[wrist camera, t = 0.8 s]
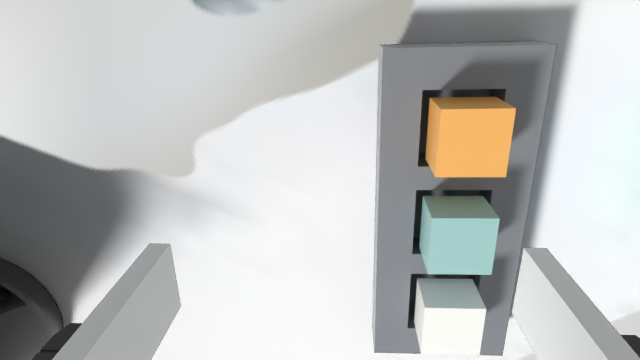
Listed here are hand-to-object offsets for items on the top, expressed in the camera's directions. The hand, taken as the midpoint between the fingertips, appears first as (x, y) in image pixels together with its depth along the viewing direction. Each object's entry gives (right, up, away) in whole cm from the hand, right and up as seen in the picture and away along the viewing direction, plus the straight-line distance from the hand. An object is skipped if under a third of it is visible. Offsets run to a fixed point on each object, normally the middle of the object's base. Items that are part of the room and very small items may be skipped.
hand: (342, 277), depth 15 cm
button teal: (+10, 0, +20) cm, 22 cm away
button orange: (+10, +7, +17) cm, 21 cm away
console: (+10, +1, +23) cm, 25 cm away
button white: (+10, -7, +23) cm, 26 cm away
